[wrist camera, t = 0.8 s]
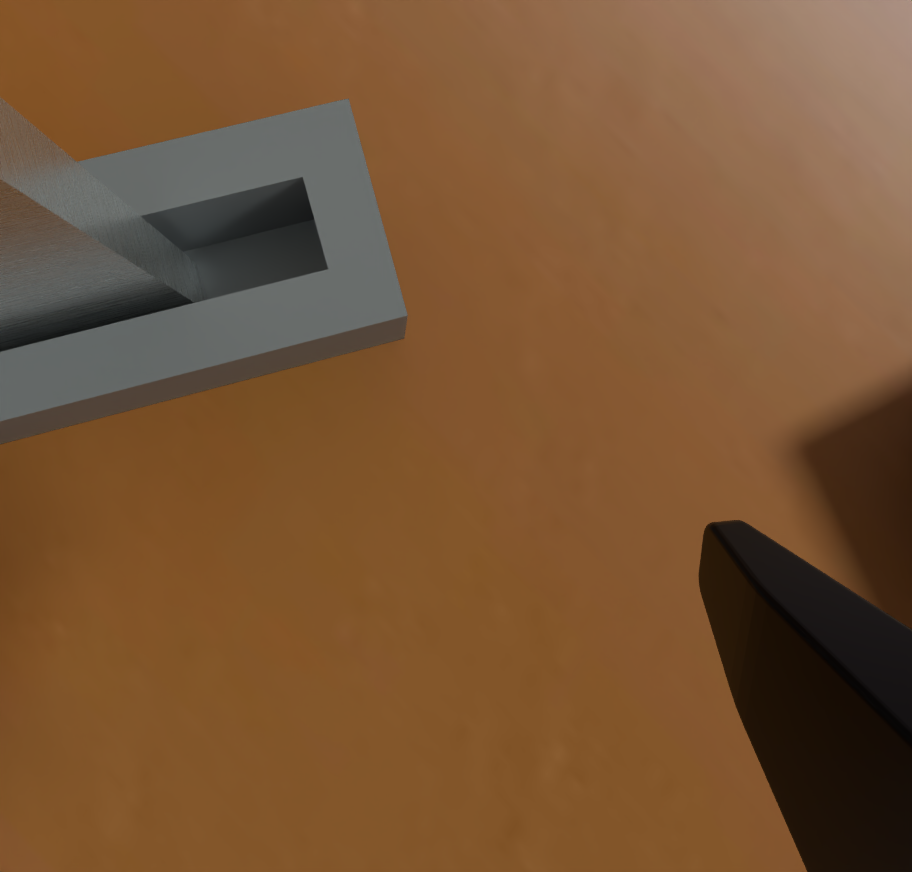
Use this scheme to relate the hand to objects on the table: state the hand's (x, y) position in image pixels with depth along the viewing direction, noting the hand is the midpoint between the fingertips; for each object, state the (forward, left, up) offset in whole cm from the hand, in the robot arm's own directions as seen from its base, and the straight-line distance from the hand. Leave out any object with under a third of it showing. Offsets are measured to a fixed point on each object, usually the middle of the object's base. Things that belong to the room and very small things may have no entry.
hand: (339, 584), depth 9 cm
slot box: (+3, +8, -13) cm, 16 cm away
